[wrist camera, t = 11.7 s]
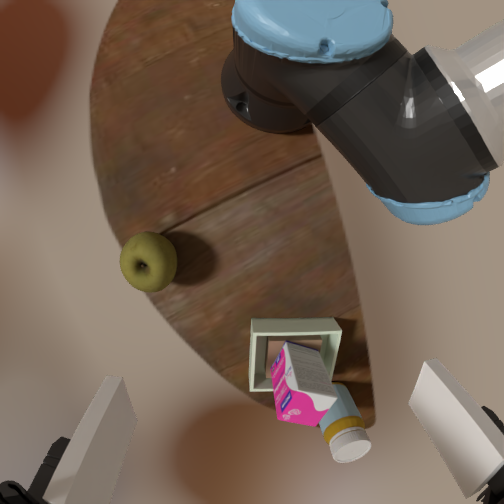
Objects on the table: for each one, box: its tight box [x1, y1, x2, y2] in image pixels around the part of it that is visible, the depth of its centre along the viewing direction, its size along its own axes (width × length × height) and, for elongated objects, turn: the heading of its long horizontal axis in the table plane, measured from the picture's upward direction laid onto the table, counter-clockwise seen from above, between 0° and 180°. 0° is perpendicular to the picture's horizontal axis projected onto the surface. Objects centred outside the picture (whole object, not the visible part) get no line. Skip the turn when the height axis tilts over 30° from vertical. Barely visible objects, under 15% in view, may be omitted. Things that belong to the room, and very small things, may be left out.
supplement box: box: [270, 340, 338, 426], centre depth 36 cm, size 6×6×12 cm
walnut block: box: [265, 335, 322, 378], centre depth 43 cm, size 7×8×3 cm
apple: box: [120, 232, 177, 292], centre depth 37 cm, size 8×8×7 cm
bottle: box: [319, 382, 371, 463], centre depth 41 cm, size 7×7×15 cm
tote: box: [249, 317, 342, 391], centre depth 43 cm, size 11×13×4 cm
